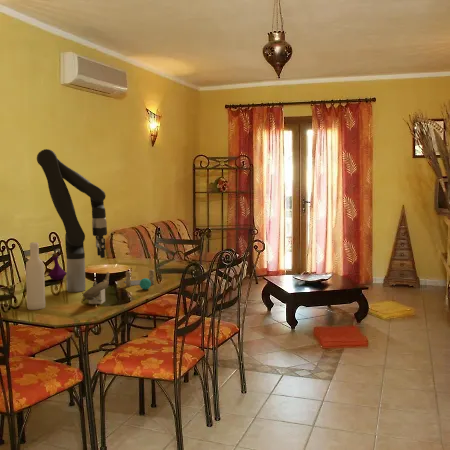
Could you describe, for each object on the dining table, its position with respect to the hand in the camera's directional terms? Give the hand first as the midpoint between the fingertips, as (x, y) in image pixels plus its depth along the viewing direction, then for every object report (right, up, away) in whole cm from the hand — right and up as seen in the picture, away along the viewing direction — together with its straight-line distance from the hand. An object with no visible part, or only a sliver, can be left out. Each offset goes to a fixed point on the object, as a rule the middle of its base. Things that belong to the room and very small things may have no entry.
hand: (101, 256), depth 279 cm
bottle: (-20, -21, -40) cm, 49 cm away
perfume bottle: (-31, -15, +25) cm, 43 cm away
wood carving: (+5, -20, -27) cm, 34 cm away
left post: (+13, -17, +6) cm, 22 cm away
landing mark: (+16, -16, +16) cm, 28 cm away
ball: (+24, -14, -1) cm, 28 cm away
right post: (+25, -16, +11) cm, 32 cm away
